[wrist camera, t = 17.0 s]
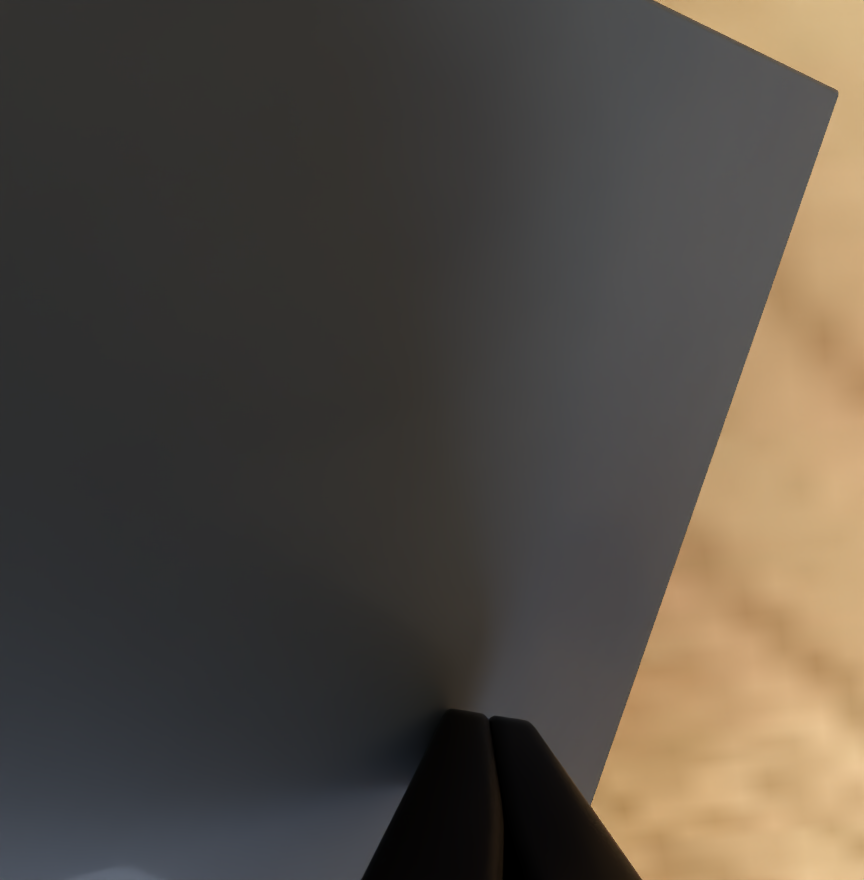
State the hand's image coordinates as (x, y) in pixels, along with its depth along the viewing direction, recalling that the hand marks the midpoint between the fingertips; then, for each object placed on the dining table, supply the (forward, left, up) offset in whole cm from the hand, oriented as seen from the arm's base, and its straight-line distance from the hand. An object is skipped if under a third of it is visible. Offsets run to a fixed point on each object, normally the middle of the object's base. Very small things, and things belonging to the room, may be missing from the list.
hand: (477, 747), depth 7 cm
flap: (0, +1, 0) cm, 1 cm away
